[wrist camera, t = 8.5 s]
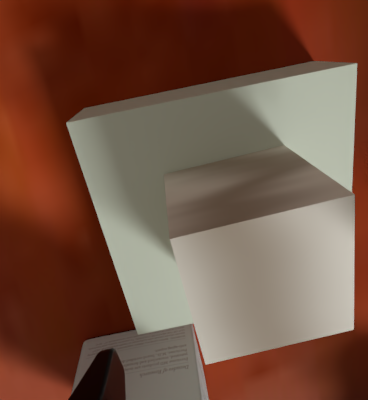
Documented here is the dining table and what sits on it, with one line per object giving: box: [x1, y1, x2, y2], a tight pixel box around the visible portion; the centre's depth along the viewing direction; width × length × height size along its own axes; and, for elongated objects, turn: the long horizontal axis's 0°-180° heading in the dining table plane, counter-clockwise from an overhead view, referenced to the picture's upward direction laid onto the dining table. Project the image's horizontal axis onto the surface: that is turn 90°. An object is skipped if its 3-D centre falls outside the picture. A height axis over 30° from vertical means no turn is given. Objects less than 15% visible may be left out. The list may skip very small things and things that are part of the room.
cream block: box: [164, 145, 355, 364], centre depth 12 cm, size 5×5×5 cm
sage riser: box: [66, 61, 357, 335], centre depth 16 cm, size 11×11×4 cm
